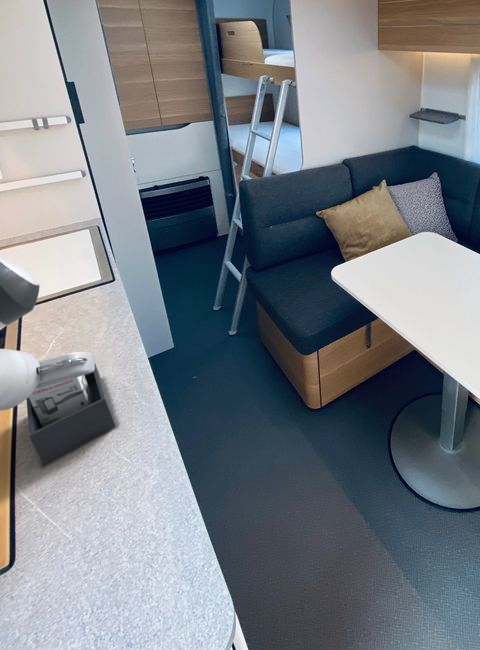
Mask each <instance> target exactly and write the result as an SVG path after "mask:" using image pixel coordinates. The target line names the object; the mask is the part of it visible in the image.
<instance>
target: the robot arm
mask: <svg viewBox="0 0 480 650" xmlns="http://www.w3.org/2000/svg"><path fill="white" fill-rule="evenodd" d="M40 287H41V285H40V284H39V283H38V281H37V279H36V278H35V276H33V274H31V273H30V271H28V270H27V269H26V268H24V267H22V266H21V265H19V264H17V263H15V262H13V261H11V260H9V259H6V258H4V257H2V256H0V331H1V330H2V329H4V328H5V327H6V326H9V325H11V324H13V323H14V322H16V321H18V320H19V319H21V318H23V317H25V316H26V315H27V314H29V313H31V312H32V311H33V310H34V309H35V306H36V304H37V301H38V298H39V293H40ZM95 361H96V360H95V355H94V353H93V352H91V351H75V352H69V353H64V354H60V355H56V356H53V357H50V358H46V359H45V358H44V359H42V360H38V359H37V357H35V356H34V355H33V354H31V353H29V352H28V351H27V352H26V351H23V350H17V349H9V348H0V412H1V411H7V410H10V409H13V408H15V407H17V406H19V405H21V404H22V403H24V402H25V401H27V400H26V399H27V398H28V397H29V396H30V395H31V394H32V393H33V392H34V390H35V389H38V388H42V387H45V386H48V385H52V384H55V383H59V382H62V381H66V380H69V379H73V378H76V377H80V376H83V375H86V374H89V373H92V372H93V371H94V370H95V364H96V362H95Z"/></svg>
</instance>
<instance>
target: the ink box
mask: <svg viewBox="0 0 480 650" xmlns="http://www.w3.org/2000/svg"><path fill="white" fill-rule="evenodd" d="M29 399H30V401H31V403H32V406H33V408H34V410H35V412H36V414H37V417H38V419H39V421H40V423H41V425H42V428H43V427H45V426H47V425H49V424H51V423H53V422H55V421H57V420H60V419H62V418H64V417H66V416H68V415H70V414H72V413H74V412H76V411H78V410H80V409H82V408H84V407H86V406H88V405H90V404H92V403H93V397H92V394H91V391H90V389H89V386H88V383H87V381H86V378H85V376H84V375H83V376H80V377H76V378H73V379H69V380H66V381H62V382H59V383H55V384H52V385H48V386H45V387H42V388H38V389H35V390H34V392H33V393H32V394H31V395H30V396H29Z"/></svg>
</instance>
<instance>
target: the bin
mask: <svg viewBox="0 0 480 650" xmlns="http://www.w3.org/2000/svg"><path fill="white" fill-rule="evenodd" d="M98 369H99V368H98V367H97V364H96V363H95V370H94V371H93V372H92V373H89V374H86V375H84V376H85V378H86V381H87V383H88V386H89V389H90V391H91V394H92V397H93V403H92V404H90V405H88V406H86V407H84V408H82V409H80V410H78V411H76V412H74V413H72V414H70V415H68V416H66V417H64V418H62V419H60V420H57V421H55V422H53V423H51V424H49V425H47V426H45V427H43V428H42V425H41V423H40V421H39V419H38V417H37V414H36V412H35V410H34V408H33V406H32V403H31V401H30V399H29V397H28V398H27V399H26V400H25V401H26V411H27V422H28V435H29V439H30V441H31V442H32V444H33V447H34V448H35V450H36V452H37V454H38V456H39V458H40V460H41V462H42V464H43V465H46V464H48V463H51V462H52V461H54V460H56V459H58V458H61V456H64V455H65V454H67V453H69V452H71V451H72V450H75V449H76V448H78V447H80V446H82V445H85V444H86V443H88V442H90V441H91V440H93V439H95V438H97V437H99V436H101V435H102V434H105V433H106V432H108V431H110V430H112V429H115V428H116V422H115V419H114V416H113V413H112V409H111V407H110V403H109V399H108V396H107V393H106V390H105V386H104V382H103V379H102V377H101V374H100V372H99V370H98Z"/></svg>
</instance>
